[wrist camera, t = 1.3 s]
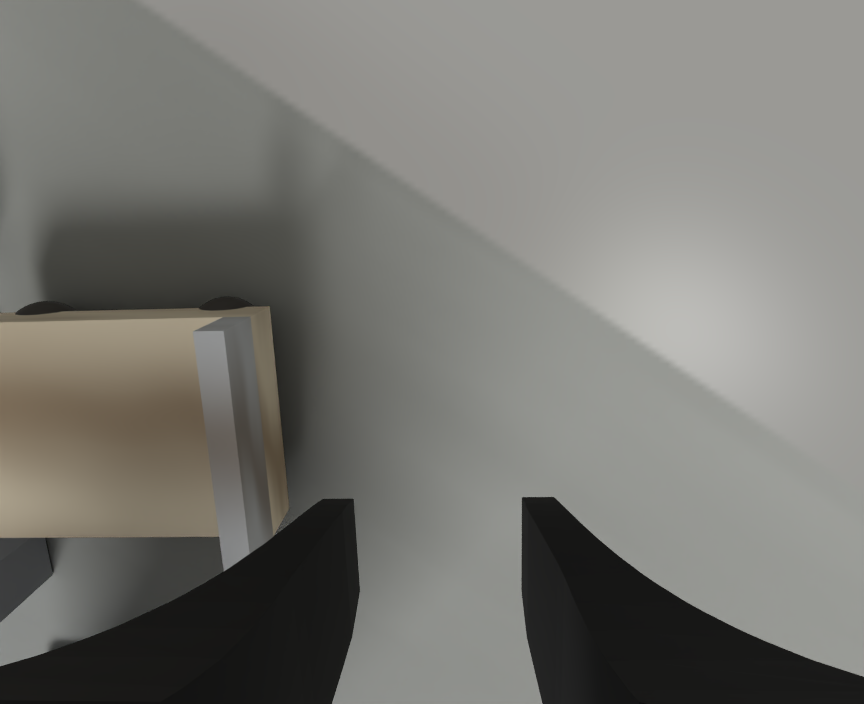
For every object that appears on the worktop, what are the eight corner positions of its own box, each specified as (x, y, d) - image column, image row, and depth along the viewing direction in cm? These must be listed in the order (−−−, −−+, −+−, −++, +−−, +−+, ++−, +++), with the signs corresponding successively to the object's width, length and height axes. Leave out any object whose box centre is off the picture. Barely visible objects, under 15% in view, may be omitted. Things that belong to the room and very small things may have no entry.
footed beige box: (300, 496, 22) (253, 583, 17) (63, 498, 22) (-53, 584, 17) (281, 290, 20) (222, 319, 15) (24, 297, 21) (-118, 326, 16)
